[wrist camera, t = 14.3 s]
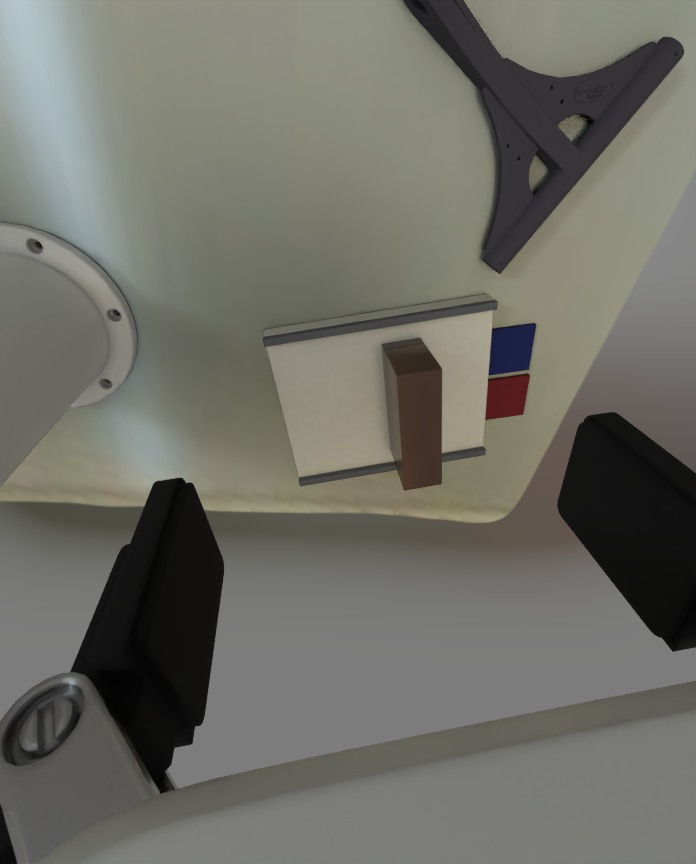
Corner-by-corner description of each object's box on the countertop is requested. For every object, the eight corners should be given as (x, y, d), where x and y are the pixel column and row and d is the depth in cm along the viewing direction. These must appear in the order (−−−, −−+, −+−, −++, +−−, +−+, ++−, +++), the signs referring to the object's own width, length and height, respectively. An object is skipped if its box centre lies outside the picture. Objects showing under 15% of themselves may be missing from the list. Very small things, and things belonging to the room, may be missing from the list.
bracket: (505, -198, 19) (534, -247, 17) (667, 62, 25) (706, 52, 22) (326, 121, 25) (330, 118, 22) (493, 270, 31) (509, 279, 28)
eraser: (390, 449, 37) (404, 490, 32) (381, 343, 31) (396, 375, 27) (423, 443, 37) (441, 484, 32) (420, 337, 31) (442, 368, 27)
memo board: (299, 471, 39) (300, 486, 37) (264, 329, 31) (262, 339, 29) (477, 441, 39) (485, 455, 38) (486, 293, 31) (498, 301, 30)
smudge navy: (481, 374, 35) (482, 376, 35) (485, 329, 33) (487, 331, 33) (527, 368, 35) (529, 369, 35) (534, 322, 33) (536, 324, 33)
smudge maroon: (479, 418, 38) (480, 420, 38) (483, 379, 36) (484, 381, 35) (521, 413, 38) (523, 414, 38) (528, 373, 36) (529, 375, 35)
